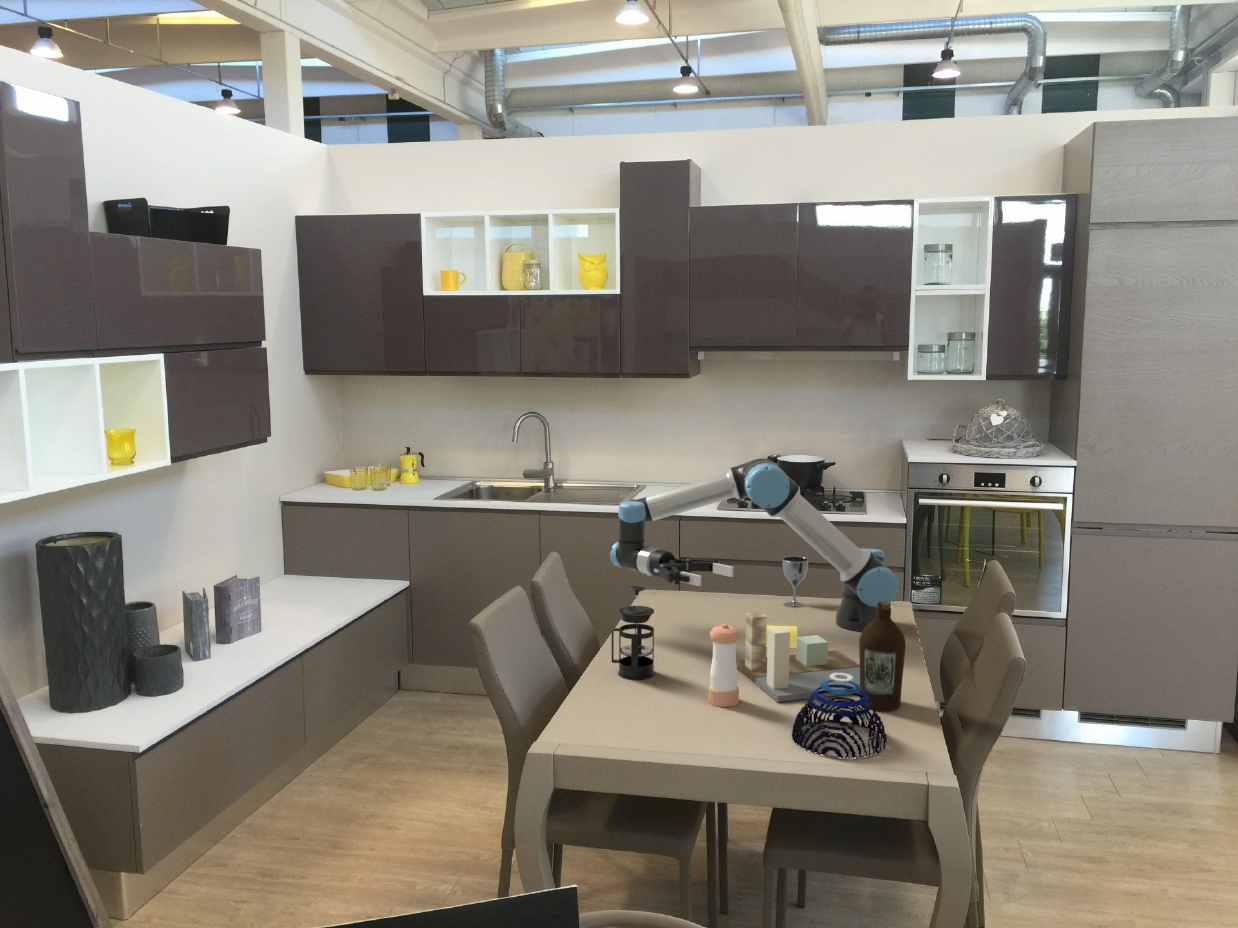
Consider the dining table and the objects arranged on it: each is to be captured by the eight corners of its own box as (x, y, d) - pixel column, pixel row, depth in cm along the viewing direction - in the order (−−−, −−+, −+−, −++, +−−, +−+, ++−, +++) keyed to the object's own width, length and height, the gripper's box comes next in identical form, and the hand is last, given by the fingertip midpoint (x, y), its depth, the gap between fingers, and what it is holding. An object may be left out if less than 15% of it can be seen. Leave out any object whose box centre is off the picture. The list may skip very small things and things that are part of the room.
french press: (658, 668, 264) (659, 583, 261) (655, 680, 255) (656, 592, 252) (614, 666, 266) (614, 581, 262) (609, 678, 256) (609, 591, 253)
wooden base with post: (837, 655, 274) (838, 600, 272) (861, 671, 262) (863, 613, 260) (734, 665, 266) (735, 608, 264) (754, 682, 254) (755, 622, 251)
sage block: (816, 656, 268) (817, 635, 268) (827, 664, 263) (827, 641, 262) (795, 658, 267) (796, 637, 266) (806, 666, 261) (806, 644, 260)
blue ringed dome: (801, 716, 233) (803, 656, 231) (890, 729, 226) (893, 667, 224) (783, 750, 215) (785, 685, 213) (879, 765, 207) (882, 698, 205)
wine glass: (805, 601, 327) (807, 556, 325) (807, 608, 319) (809, 562, 317) (780, 600, 328) (782, 555, 326) (782, 607, 320) (783, 561, 318)
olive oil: (860, 693, 247) (863, 594, 243) (904, 699, 243) (909, 598, 239) (854, 709, 237) (857, 606, 233) (900, 715, 233) (905, 610, 230)
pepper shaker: (702, 698, 244) (703, 621, 241) (729, 693, 246) (730, 618, 244) (717, 708, 237) (718, 630, 234) (744, 704, 240) (746, 626, 237)
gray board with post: (862, 671, 261) (864, 614, 259) (888, 689, 249) (891, 628, 247) (755, 683, 253) (756, 623, 251) (777, 701, 241) (779, 639, 238)
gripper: (685, 568, 290) (744, 581, 276) (625, 583, 273) (686, 599, 258) (686, 542, 289) (745, 554, 275) (626, 556, 272) (686, 570, 257)
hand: (716, 576), depth 266 cm, fingers open, 13 cm apart
